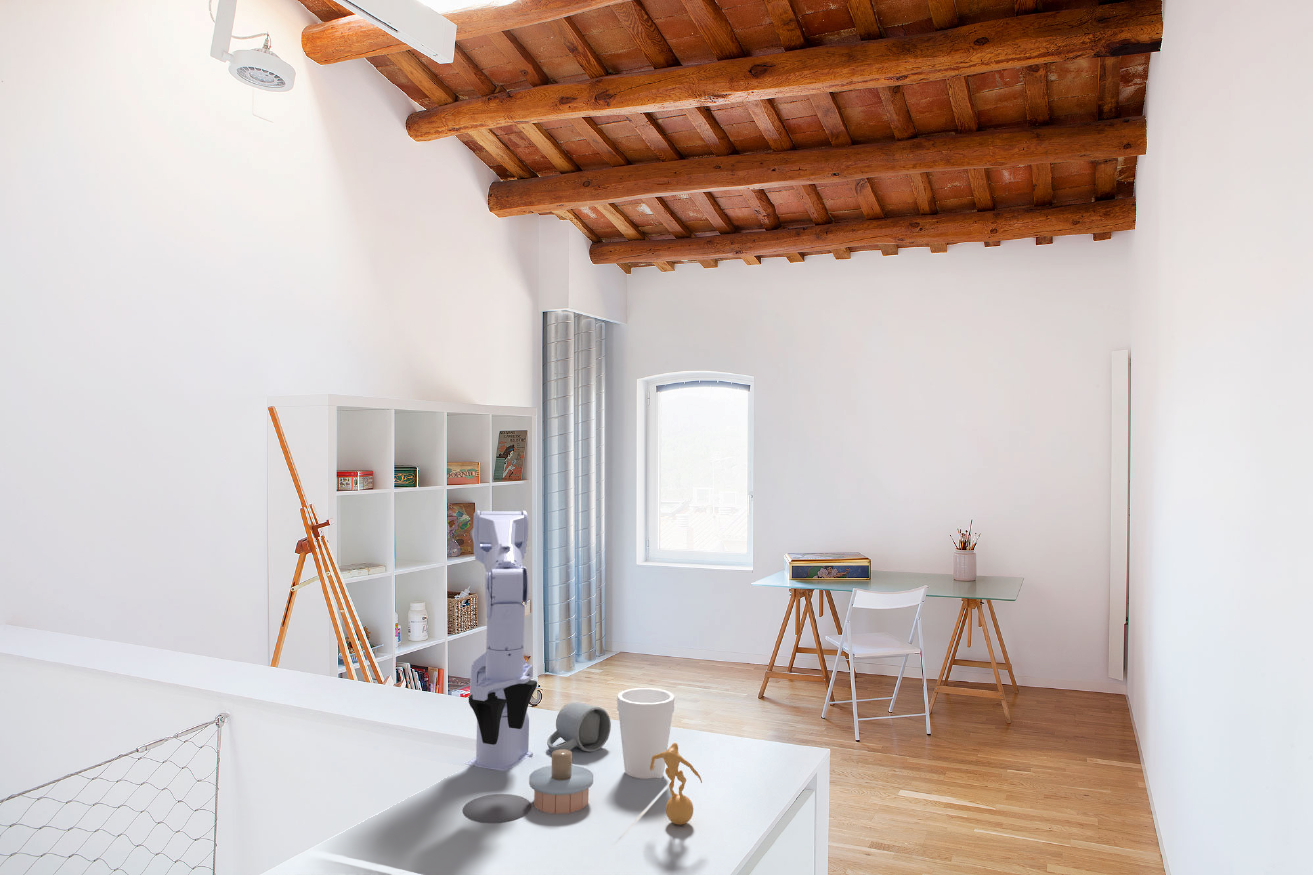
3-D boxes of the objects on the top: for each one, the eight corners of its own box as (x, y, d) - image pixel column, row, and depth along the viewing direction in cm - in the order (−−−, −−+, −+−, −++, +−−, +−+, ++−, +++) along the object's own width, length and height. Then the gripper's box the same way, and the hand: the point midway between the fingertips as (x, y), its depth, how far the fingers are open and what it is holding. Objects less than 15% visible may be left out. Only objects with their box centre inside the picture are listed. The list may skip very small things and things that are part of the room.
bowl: (549, 791, 127) (550, 768, 128) (596, 799, 125) (596, 776, 125) (524, 811, 120) (524, 787, 120) (573, 820, 117) (573, 796, 117)
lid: (546, 766, 129) (546, 738, 129) (602, 774, 126) (603, 746, 126) (517, 789, 119) (518, 759, 120) (578, 798, 117) (578, 768, 117)
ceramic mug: (584, 734, 154) (584, 694, 154) (611, 746, 148) (611, 704, 148) (537, 748, 147) (537, 705, 147) (564, 761, 141) (564, 716, 141)
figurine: (711, 825, 117) (712, 740, 117) (692, 841, 112) (693, 753, 112) (660, 811, 121) (662, 730, 121) (640, 827, 116) (641, 741, 116)
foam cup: (639, 760, 142) (640, 684, 142) (683, 772, 136) (684, 694, 137) (604, 776, 134) (606, 697, 134) (650, 790, 128) (651, 707, 129)
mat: (486, 793, 126) (486, 789, 126) (543, 804, 123) (543, 800, 123) (448, 819, 117) (448, 815, 117) (509, 832, 113) (509, 827, 113)
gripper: (503, 659, 117) (500, 754, 117) (550, 639, 131) (548, 724, 131) (461, 654, 120) (459, 747, 120) (511, 635, 134) (509, 719, 133)
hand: (502, 735), depth 125 cm, fingers open, 7 cm apart
